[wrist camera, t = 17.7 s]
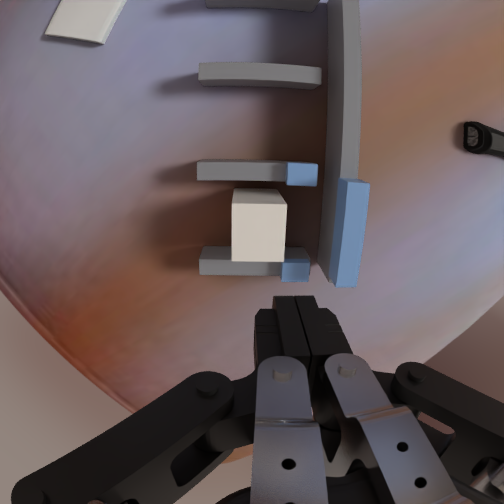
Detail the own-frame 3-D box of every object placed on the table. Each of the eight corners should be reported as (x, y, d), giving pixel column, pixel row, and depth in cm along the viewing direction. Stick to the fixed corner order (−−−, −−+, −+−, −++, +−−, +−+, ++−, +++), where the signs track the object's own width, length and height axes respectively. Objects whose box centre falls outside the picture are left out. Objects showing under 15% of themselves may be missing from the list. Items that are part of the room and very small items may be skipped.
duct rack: (208, -4, 22) (199, -40, 15) (342, 5, 22) (368, -25, 15) (203, 261, 32) (194, 297, 25) (331, 262, 32) (354, 296, 25)
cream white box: (234, 188, 29) (231, 203, 23) (276, 188, 29) (287, 204, 23) (233, 233, 31) (231, 261, 24) (274, 234, 31) (283, 261, 24)
